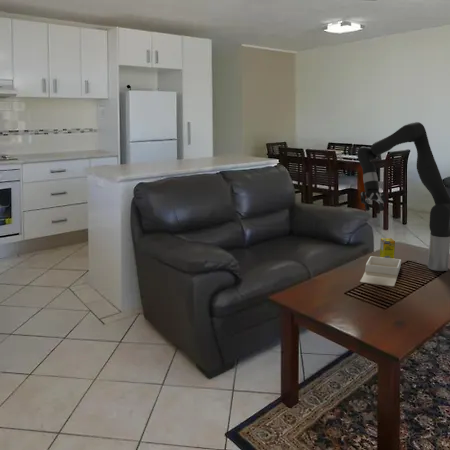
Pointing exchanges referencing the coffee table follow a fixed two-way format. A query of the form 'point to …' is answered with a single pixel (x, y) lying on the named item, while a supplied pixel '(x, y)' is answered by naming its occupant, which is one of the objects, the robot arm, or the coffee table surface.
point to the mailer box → (381, 271)
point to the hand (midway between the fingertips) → (374, 210)
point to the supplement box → (387, 248)
